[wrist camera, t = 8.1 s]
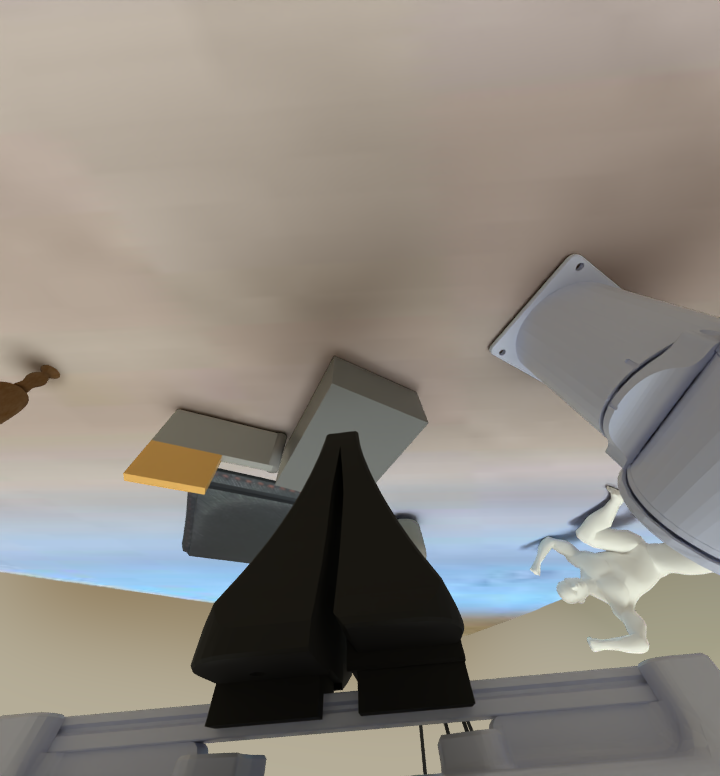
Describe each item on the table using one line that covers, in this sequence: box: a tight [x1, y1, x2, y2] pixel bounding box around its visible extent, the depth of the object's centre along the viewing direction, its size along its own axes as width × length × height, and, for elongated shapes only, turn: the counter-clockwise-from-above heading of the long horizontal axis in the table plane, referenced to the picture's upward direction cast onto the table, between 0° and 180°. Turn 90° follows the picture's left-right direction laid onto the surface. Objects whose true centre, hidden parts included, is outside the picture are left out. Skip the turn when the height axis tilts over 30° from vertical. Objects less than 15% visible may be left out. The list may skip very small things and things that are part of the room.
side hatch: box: [123, 409, 287, 495], centre depth 21 cm, size 1×10×7 cm, turn 68°
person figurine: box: [530, 486, 712, 654], centre depth 34 cm, size 13×13×18 cm
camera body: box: [275, 356, 428, 492], centre depth 23 cm, size 8×13×4 cm, turn 152°
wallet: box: [182, 468, 300, 563], centre depth 34 cm, size 20×2×15 cm
